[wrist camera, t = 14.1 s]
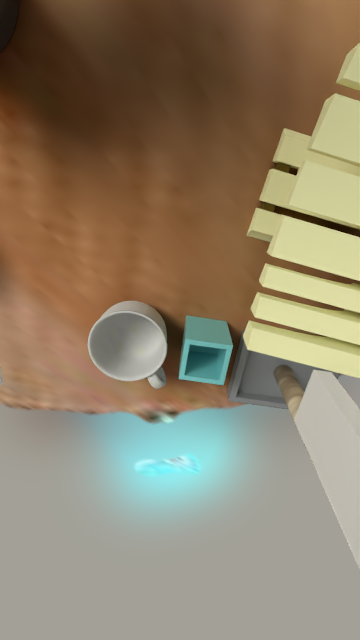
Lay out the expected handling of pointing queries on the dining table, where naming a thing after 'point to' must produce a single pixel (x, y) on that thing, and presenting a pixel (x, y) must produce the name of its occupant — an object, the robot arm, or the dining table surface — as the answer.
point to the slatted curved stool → (314, 238)
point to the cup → (205, 350)
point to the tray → (263, 377)
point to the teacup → (130, 343)
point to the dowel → (289, 389)
